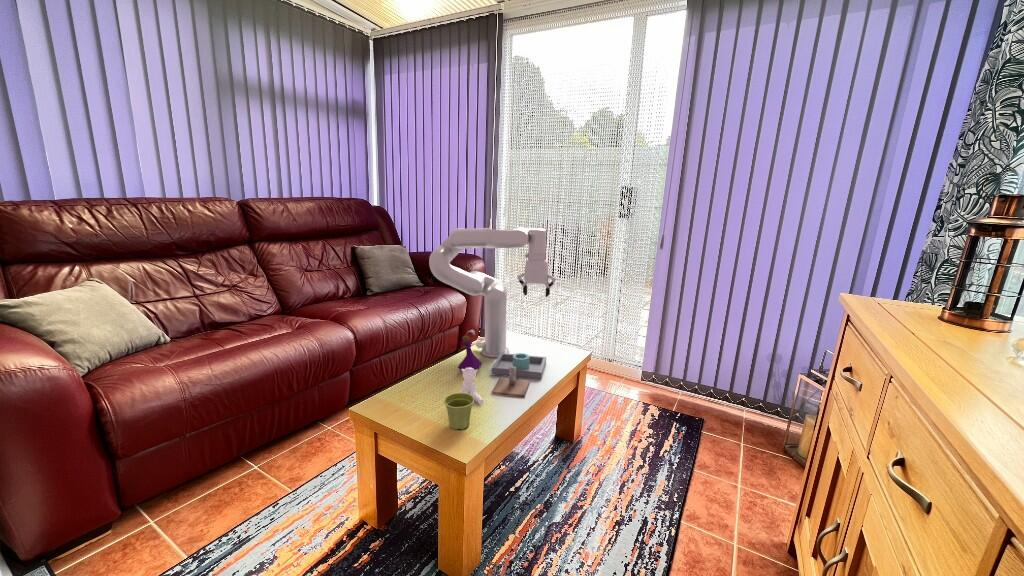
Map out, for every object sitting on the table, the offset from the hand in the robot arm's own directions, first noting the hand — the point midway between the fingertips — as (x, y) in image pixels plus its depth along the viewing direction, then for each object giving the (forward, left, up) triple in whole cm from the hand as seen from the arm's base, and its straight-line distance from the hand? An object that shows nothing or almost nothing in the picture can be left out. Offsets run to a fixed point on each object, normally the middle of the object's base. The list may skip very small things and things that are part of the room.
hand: (536, 295), depth 183 cm
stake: (-4, -37, -27) cm, 46 cm away
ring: (-3, -21, -27) cm, 34 cm away
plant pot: (-15, -65, -27) cm, 72 cm away
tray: (-4, -19, -27) cm, 33 cm away
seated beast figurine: (-17, -49, -27) cm, 58 cm away
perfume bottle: (-23, -27, -27) cm, 44 cm away
